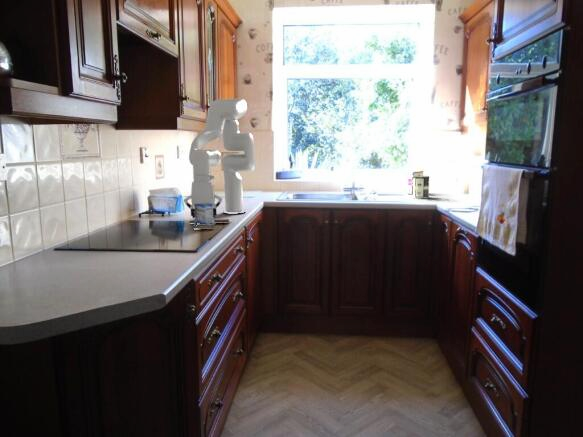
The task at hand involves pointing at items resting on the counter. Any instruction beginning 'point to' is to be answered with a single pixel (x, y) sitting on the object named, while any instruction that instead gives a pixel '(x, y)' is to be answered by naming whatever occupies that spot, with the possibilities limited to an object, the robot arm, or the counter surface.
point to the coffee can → (420, 186)
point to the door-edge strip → (215, 220)
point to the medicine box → (203, 213)
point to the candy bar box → (410, 179)
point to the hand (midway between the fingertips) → (203, 217)
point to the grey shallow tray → (204, 225)
